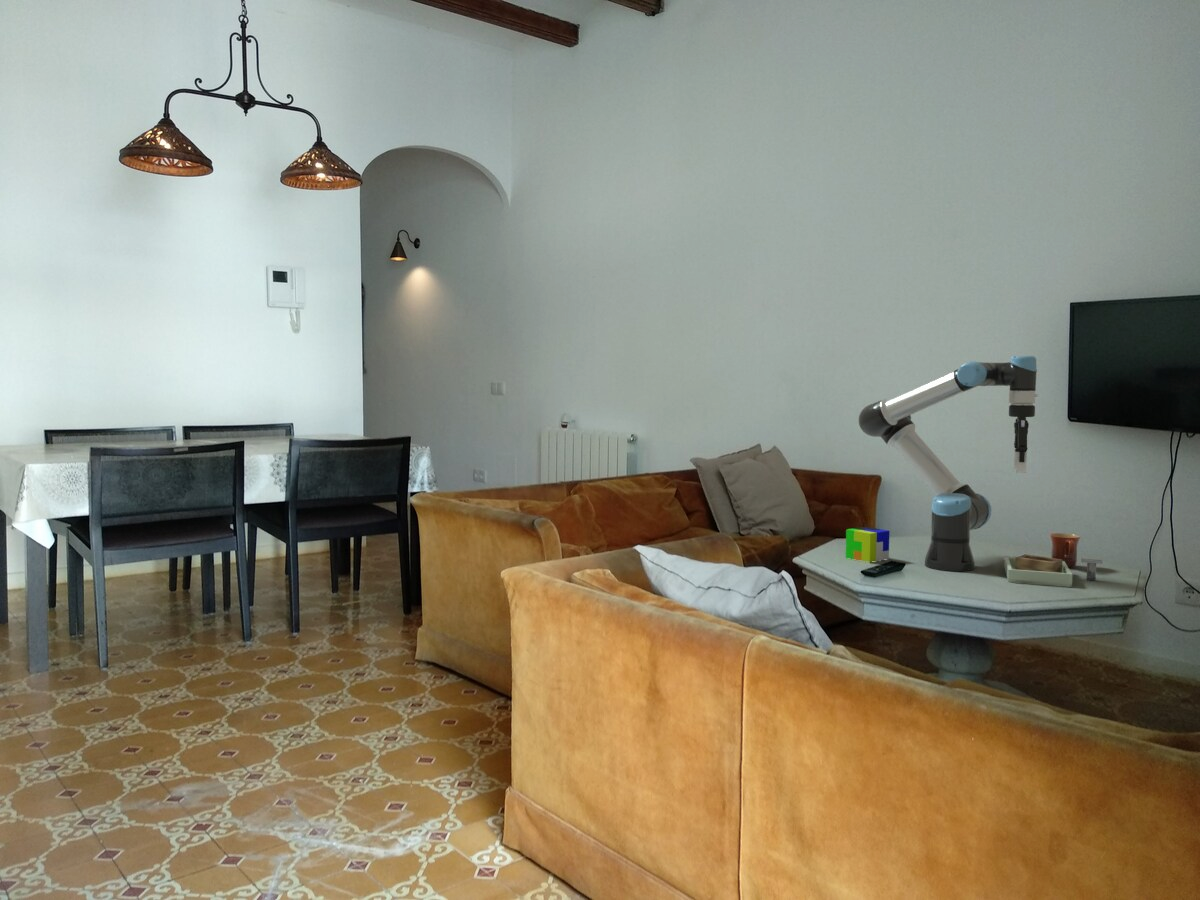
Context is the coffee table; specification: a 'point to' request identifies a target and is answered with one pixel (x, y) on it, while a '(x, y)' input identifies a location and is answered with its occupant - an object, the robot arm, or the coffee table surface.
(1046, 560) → the light brown wooden box
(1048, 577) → the tray
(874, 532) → the puzzle toy
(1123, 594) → the coffee table surface
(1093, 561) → the stake
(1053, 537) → the mug
